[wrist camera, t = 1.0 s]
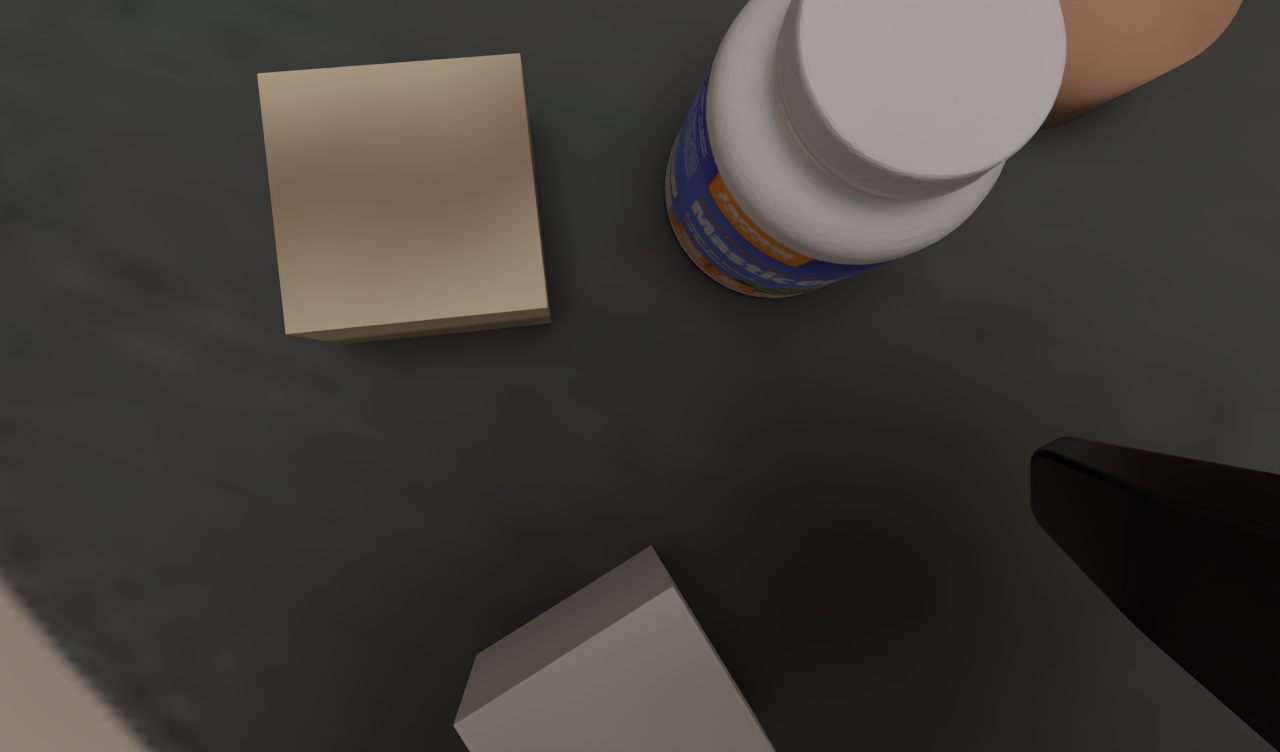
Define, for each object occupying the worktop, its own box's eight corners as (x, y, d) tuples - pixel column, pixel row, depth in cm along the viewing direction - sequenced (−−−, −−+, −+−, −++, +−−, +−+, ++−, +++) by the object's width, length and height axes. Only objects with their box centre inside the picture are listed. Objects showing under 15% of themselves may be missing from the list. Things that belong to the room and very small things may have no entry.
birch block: (551, 323, 22) (547, 307, 17) (345, 344, 21) (285, 334, 17) (529, 122, 22) (519, 53, 17) (323, 139, 21) (257, 73, 17)
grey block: (753, 712, 22) (802, 797, 17) (583, 824, 22) (588, 940, 17) (650, 544, 22) (672, 586, 17) (477, 653, 21) (453, 725, 17)
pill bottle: (640, 270, 22) (700, 179, 12) (690, 61, 22) (791, -198, 12) (848, 323, 22) (1069, 277, 12) (896, 117, 22) (1152, -89, 12)
